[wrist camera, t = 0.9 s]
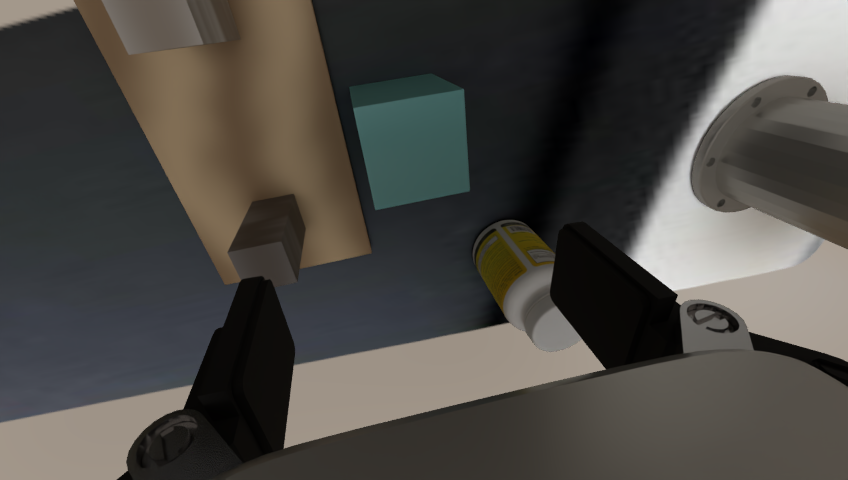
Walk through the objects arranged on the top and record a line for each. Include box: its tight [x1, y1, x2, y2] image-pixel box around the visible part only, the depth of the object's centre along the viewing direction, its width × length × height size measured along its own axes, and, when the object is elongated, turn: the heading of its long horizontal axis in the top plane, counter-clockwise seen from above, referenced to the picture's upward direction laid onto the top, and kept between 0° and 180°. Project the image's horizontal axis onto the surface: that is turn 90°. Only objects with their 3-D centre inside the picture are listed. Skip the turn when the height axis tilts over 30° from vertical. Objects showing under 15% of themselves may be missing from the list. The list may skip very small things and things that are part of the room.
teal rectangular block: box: [349, 73, 470, 210], centre depth 23 cm, size 6×6×8 cm
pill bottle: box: [473, 220, 582, 352], centre depth 29 cm, size 6×6×11 cm
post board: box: [74, 0, 372, 287], centre depth 21 cm, size 12×23×8 cm, turn 7°
